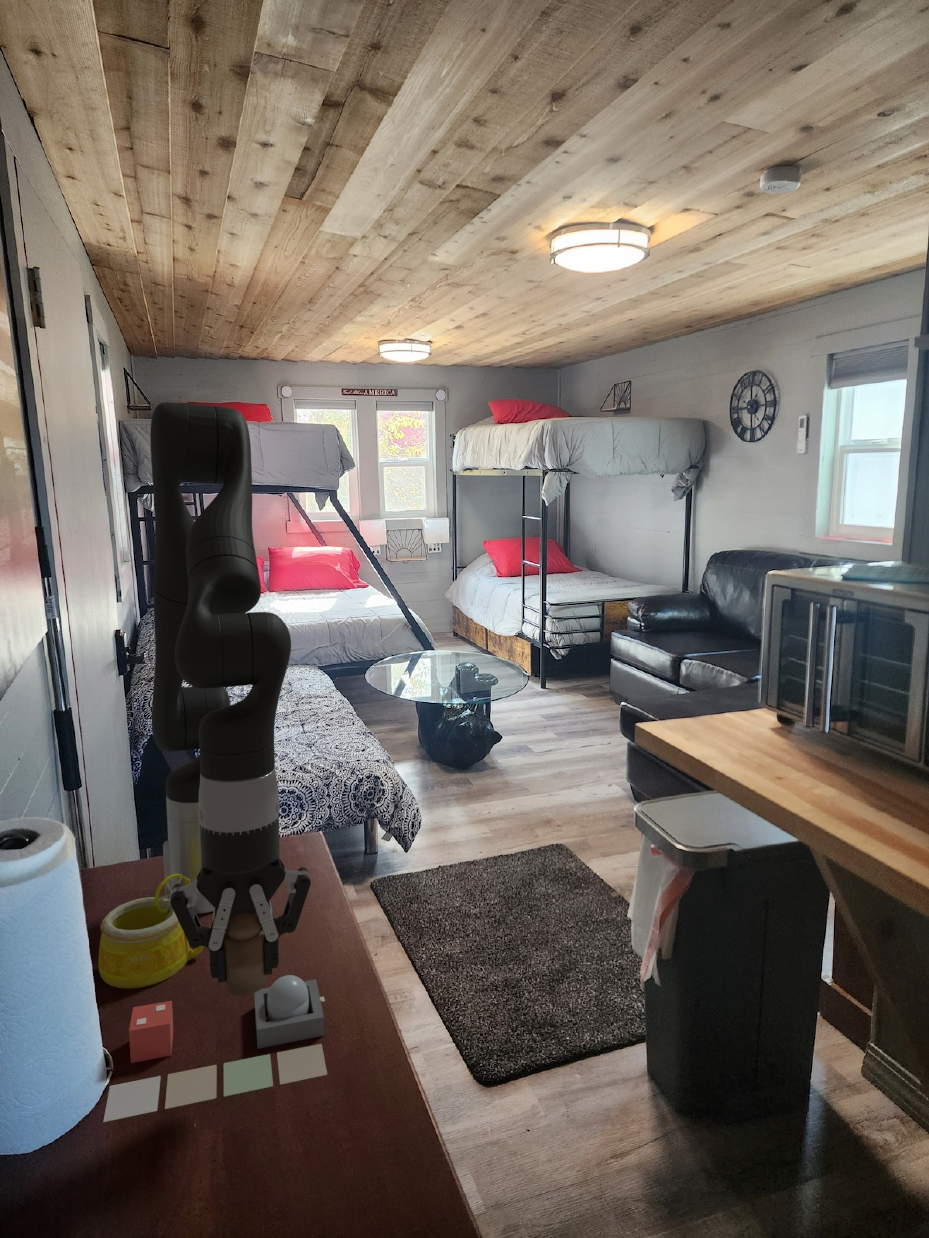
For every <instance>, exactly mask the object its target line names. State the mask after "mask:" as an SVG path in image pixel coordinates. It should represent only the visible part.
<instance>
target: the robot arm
mask: <svg viewBox="0 0 929 1238" xmlns="http://www.w3.org/2000/svg"><path fill="white" fill-rule="evenodd" d="M149 435H150V439H149V440H150V459H151V460H150V461H151V474H152V477H151V478H152V490H153V503H154V504H153V506H154V507H153V508H154V524H155V527H154V528H155V529H154V530H155V531H154V533H155V534H154V536H155V538H154V539H155V540H154V542H155V544H154V564H153V565H154V570H153V619H154V620H153V621H154V643H155V644H154V645H155V655H154V656H155V658H154V660H155V661H154V674H153V677H154V678H153V690H152V700H151V701H152V702H151V703H152V704H151V729H152V731H151V732H152V736H153V740H154V744H155V745H156V747H157V748H158V749H159V750H160V751H163V752H170V753H171V752H182V751H190V750H192V751H193V750H199V755H198V756H197V757H196V758H195V759H193V760H191V761H190V762H188V763H186V764H183V765H181V766H180V767H178V768H176V769H174V770H173V771H171V772H170V773H169V774H168V776H167V777H166V779H165V796H166V797H165V799H166V801H165V802H166V818H167V820H166V821H167V837H168V838H167V840H165V841H164V843H163V844H162V853H163V855H162V856H163V873H164V874H163V875H164V880H165V879H166V878H167V877H168V876H170V875H172V874H181V875H183V876H185V877H187V879H190V883H188V884H186V885H184V881H185V880H184V879H183V878H182V879H181V881H180V883H179V884H178V882H177V884H176V885H175V883H176V880H177V877H174V878H172V879H170V880H169V881H168V884H169V886H170V888H171V890H172V891H171V892H170V891H169V890H168V888H167V887H166V886H165V885H164V895H167V894H169V895H171V896H169V895H167V896H169V897H170V904H171V906H172V908H173V910H174V912H175V914H176V917H177V919H178V921H179V923H180V925H181V927H182V930H183V932H184V934H185V936H186V938H187V940H188V943H189V947H190V948H191V949H192V948H193V949H196V948H197V947H199V946H204V948H207V950H208V951H209V968H210V973H209V974H210V976H211V979H217V983H218V984H225V956H224V946H223V937H224V933H225V931H226V928H227V924H228V920H229V916H235V915H238V914H240V913H257V914H258V917H259V920H260V923H261V925H262V927H263V930H264V935H265V939H264V955H265V975H266V976H269V975H272V974H273V969H276V968H278V966H279V964H280V958H279V939H280V938H281V936H283V935H285V934H286V933H288V934H291V933H294V932H295V931H296V930H297V927H298V923H299V920H300V917H301V914H302V912H303V908H304V905H305V902H306V899H307V897H308V893H309V891H310V887H311V886H312V885H311V884H312V881H311V877H310V874H309V873H310V872H309V870H308V868H306V867H305V866H303V867H302V866H301V867H300V868H298V869H297V870H296V869H290V868H285V865H284V863H283V861H282V860H281V852H280V845H281V844H280V817H279V816H280V807H281V806H280V800H279V785H278V781H277V774H276V773H277V772H276V766H275V765H276V762H275V761H276V756H275V727H276V726H275V724H276V715H277V709H278V705H279V700H280V695H281V691H282V688H283V684H284V680H285V676H286V675H287V670H288V667H289V663H290V659H291V657H290V656H291V650H292V639H291V634H290V631H289V629H288V626H287V625H286V623H285V621H284V620H283V619H282V618H281V617H280V616H278V615H277V614H276V613H273V612H269V611H268V612H267V611H255V612H250V611H251V610H252V609H253V608H255V607H256V606H257V604H258V603H259V601H260V598H261V595H262V585H261V578H260V572H259V566H258V561H257V560H258V559H257V555H256V549H255V542H254V535H253V477H252V476H253V474H252V471H253V470H252V468H253V467H252V449H251V448H252V447H251V437H250V431H249V426H248V423H247V420H246V418H245V417H244V415H243V414H242V413H241V411H240V410H239V409H235V408H231V407H228V406H221V405H220V406H219V405H209V404H207V405H206V404H199V403H198V404H196V403H195V404H194V403H186V402H185V403H184V402H169V401H167V402H161V403H159V404H158V405H156V406H155V408H154V409H153V412H152V417H151V420H150V434H149ZM184 483H186V484H187V483H189V484H207V485H208V484H209V485H211V484H212V485H222V487H221V488H220V489H219V491H218V493H217V495H216V496H215V497H214V498H213V500H211V501H210V502H209V504H207V506H206V507H204V510H203V511H202V512H201V513H200V515H199V516H198V517H197V518H196V520H194V518H193V517H192V515H191V512H190V511H189V509H188V506H187V504H186V502H185V500H184V496H183V494H182V492H181V488H180V487H181V484H184ZM183 682H186V683H187V684H188V685H189V686H183V687H182V685H183ZM243 686H251V689H250V690H249V692H248V693H247V695H246V696H245V697H244V698H243V699H242V700H240V701H238V702H236V703H233V704H231V701H230V696H229V693H228V691H227V689H226V688H233V687H243ZM283 882H285V883H286V889H287V892H288V893H289V894H288V897H287V901H286V904H285V906H284V910H283V912H282V915H280V916H277V917H275V914H274V911H273V908H272V903H271V900H272V898H273V897H274V895H275V894H276V892H277V891H278V889H279V888H280V886H281V885H282V883H283ZM170 893H171V894H170ZM169 897H167V898H168V899H169ZM211 912H213V914H212V918H211V922H210V927H206V926H203V925H202V923H201V921H200V919H199V916H198V914H199V915H200V914H207V913H211Z"/></svg>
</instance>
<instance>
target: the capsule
mask: <svg viewBox="0 0 929 1238" xmlns="http://www.w3.org/2000/svg"><path fill="white" fill-rule="evenodd" d="M304 981H305V980H303V979H302V978H300V977H298V976H296V975H292V974H287V975H284V976H281V977H279V978H277V979H276V980H275V981H274V982H273V983H272V985H271V986H270V989H269V992H268V996H267V1010H268V1011H267V1022H269V1021H275V1020H280V1019H285V1018H291V1017H296V1016H302V1015H307V1014H310V1006H309V996H308V989H307V986H306V984H305V983H304Z"/></svg>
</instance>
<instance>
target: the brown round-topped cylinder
mask: <svg viewBox="0 0 929 1238" xmlns="http://www.w3.org/2000/svg"><path fill="white" fill-rule="evenodd" d="M264 939H265V935H264V930H263V927H262V925H261V923H260V920H259V917H258V914H257V913H240V914H238V915H235V916H229V920H228V924H227V928H226V930H225V933H224V937H223V946H224V956H225V982H224V989H225V991H226V992H227V993H228V994H230V995H232V996H238V997H241V996H249V995H252V994H254V993H255V992H257V991H259V990H260V989H263V987H264V986H265V985H266V982H267V981H266V980H267V979H266V976H267V975H265V955H264Z"/></svg>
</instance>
